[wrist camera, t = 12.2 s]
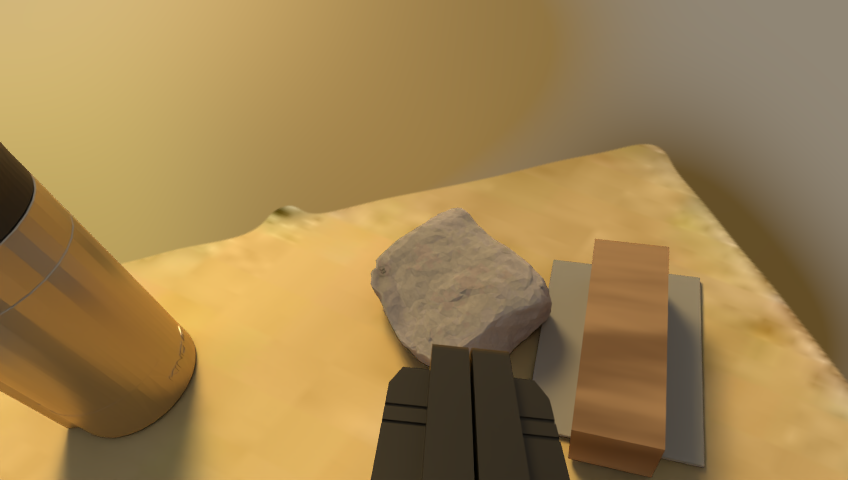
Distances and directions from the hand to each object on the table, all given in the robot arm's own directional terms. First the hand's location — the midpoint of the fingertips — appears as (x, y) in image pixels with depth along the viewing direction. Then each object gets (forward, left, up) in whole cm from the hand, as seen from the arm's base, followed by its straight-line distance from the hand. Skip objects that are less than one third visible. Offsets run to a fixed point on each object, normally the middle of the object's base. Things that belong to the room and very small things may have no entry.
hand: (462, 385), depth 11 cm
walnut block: (+7, +4, -21) cm, 22 cm away
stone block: (0, +17, -23) cm, 29 cm away
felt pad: (+10, +11, -23) cm, 28 cm away
